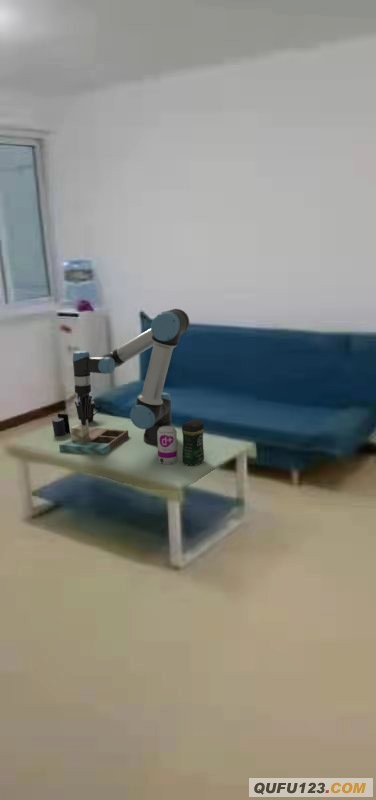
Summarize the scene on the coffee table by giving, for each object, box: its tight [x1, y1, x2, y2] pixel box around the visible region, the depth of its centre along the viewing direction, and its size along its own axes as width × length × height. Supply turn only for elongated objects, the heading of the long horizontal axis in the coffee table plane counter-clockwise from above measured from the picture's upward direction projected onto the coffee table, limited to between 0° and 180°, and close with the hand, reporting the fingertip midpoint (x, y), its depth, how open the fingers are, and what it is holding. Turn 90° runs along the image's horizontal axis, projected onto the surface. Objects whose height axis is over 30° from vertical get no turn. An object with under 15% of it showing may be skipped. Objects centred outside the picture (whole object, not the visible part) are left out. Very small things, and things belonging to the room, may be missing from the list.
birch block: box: [70, 423, 90, 441], centre depth 292 cm, size 6×6×6 cm
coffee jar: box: [181, 418, 205, 466], centre depth 266 cm, size 10×8×19 cm
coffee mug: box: [80, 400, 102, 423], centre depth 330 cm, size 12×9×10 cm
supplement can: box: [157, 425, 178, 465], centre depth 268 cm, size 8×8×15 cm
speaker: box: [51, 412, 71, 437], centre depth 309 cm, size 8×6×10 cm
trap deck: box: [58, 426, 129, 456], centre depth 295 cm, size 22×28×3 cm
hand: (85, 432), depth 297 cm, fingers closed
